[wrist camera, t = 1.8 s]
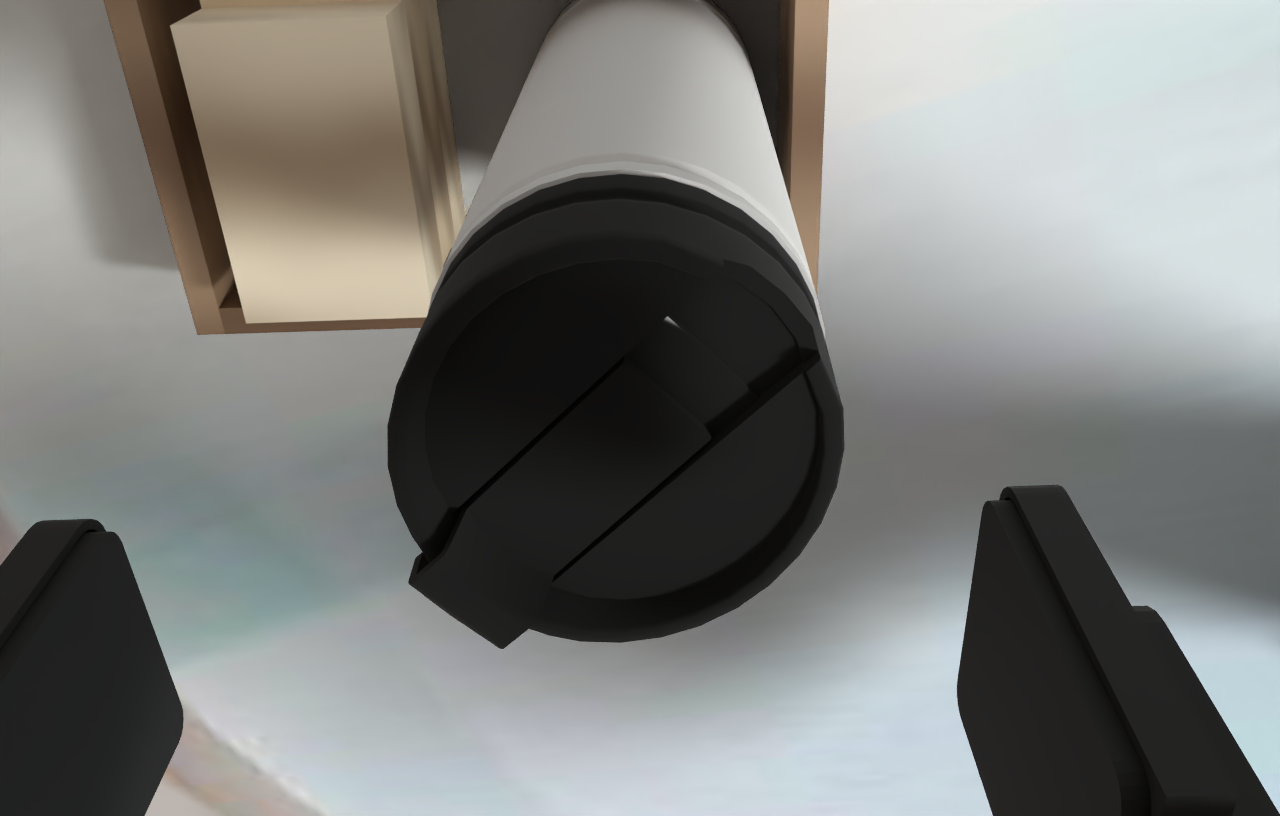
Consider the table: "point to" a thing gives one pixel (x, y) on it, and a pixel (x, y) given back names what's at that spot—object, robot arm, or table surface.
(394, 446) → the travel mug
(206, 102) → the maple offcut stack
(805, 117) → the wooden tray
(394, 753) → the table surface
